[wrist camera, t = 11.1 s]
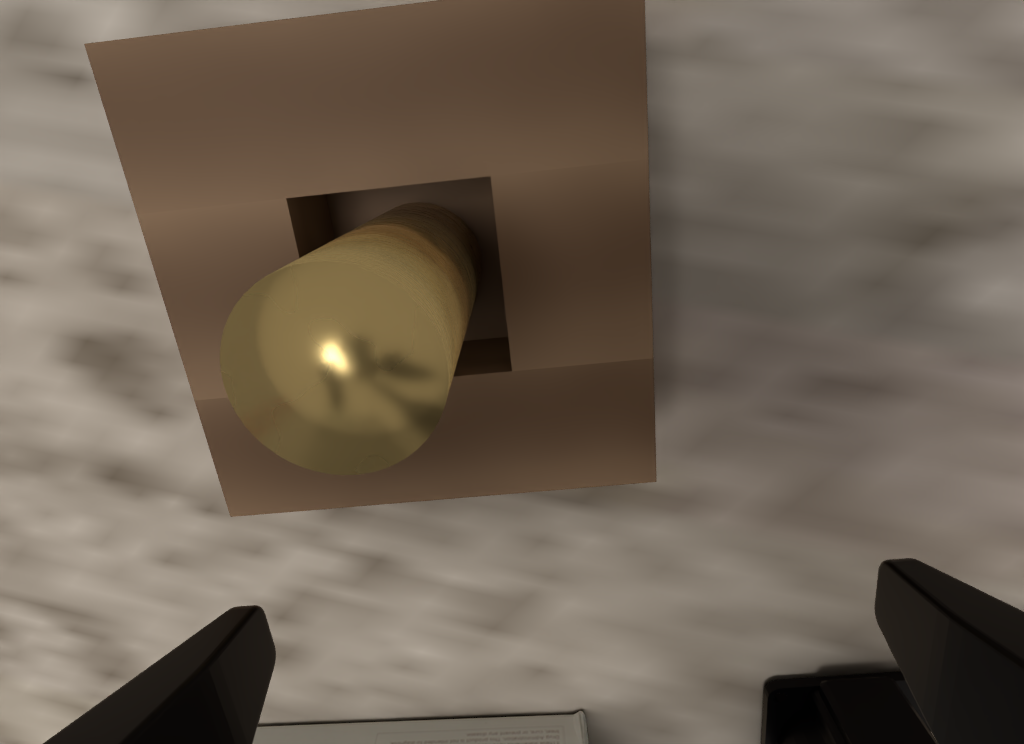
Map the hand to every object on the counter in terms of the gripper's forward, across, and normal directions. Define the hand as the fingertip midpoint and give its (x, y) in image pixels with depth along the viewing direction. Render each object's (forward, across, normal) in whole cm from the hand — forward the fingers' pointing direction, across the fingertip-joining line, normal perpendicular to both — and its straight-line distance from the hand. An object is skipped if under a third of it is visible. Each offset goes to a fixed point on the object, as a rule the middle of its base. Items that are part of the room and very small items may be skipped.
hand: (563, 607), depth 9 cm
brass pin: (+10, +3, -4) cm, 12 cm away
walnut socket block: (+12, +3, -4) cm, 12 cm away
